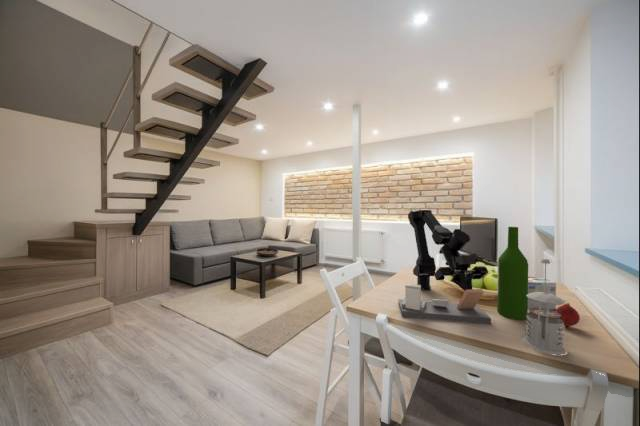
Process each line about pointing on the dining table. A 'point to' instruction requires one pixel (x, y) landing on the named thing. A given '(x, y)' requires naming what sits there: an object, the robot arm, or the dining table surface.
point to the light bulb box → (539, 286)
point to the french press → (544, 323)
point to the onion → (568, 315)
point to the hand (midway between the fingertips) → (471, 294)
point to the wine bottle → (512, 280)
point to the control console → (445, 312)
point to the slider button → (413, 296)
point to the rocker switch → (440, 302)
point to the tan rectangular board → (470, 299)
